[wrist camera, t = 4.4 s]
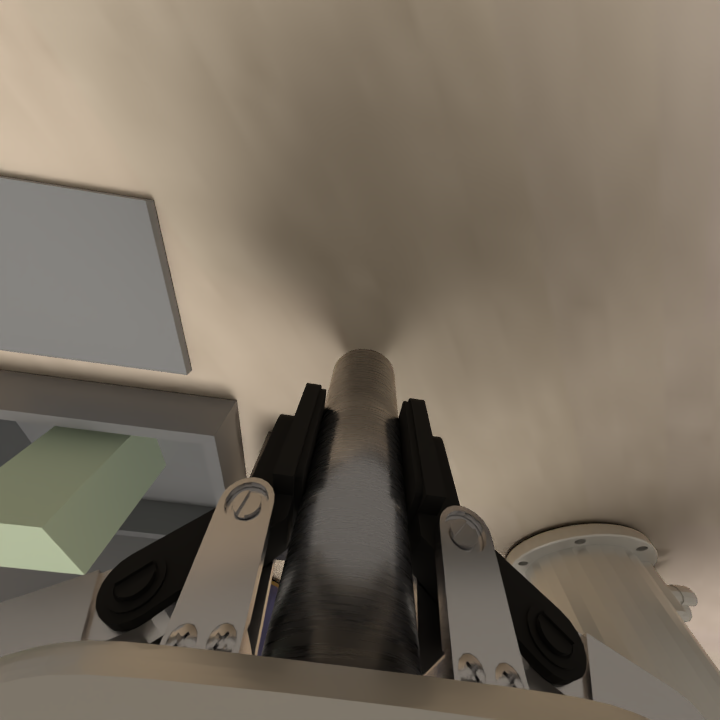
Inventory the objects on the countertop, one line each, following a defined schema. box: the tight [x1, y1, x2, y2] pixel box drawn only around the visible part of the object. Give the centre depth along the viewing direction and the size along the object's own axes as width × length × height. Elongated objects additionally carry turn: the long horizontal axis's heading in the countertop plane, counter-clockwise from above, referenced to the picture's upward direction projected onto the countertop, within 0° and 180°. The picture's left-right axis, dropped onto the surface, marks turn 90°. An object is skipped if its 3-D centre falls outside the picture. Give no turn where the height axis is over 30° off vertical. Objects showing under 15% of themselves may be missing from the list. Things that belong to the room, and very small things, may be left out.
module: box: [0, 426, 166, 575], centre depth 17 cm, size 4×5×7 cm
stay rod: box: [261, 349, 421, 675], centre depth 9 cm, size 3×3×10 cm
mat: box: [0, 176, 191, 375], centre depth 14 cm, size 11×9×1 cm
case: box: [0, 370, 246, 539], centre depth 20 cm, size 16×13×3 cm
